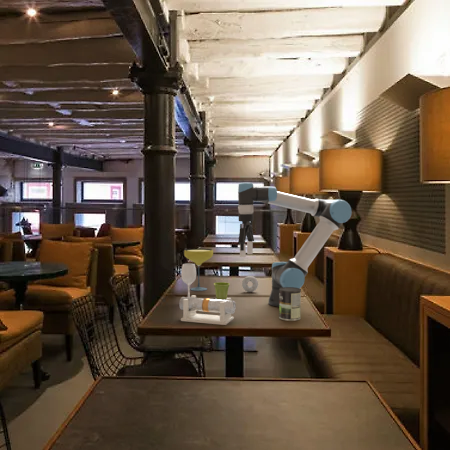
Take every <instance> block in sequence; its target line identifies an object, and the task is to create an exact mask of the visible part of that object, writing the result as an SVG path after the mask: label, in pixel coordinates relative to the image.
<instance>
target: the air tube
mask: <svg viewBox="0 0 450 450" xmlns="http://www.w3.org/2000/svg"><path fill="white" fill-rule="evenodd" d="M184 299H189V310H193V311H196V312H203V313H205V312H206V313H219V314H220V302H225V313H230V314H231V315H233V314H235V312H236V309H237V307H236V301H235V300H233V299H231V300H226V299H223V300H222V299H216V298H215V299H214V298H202V297H196V298H191V296H190V297H188V296H186V297H185V296H182V297H180V299H179V303H178V305H179V309H180V310H182V311H183V300H184Z"/></svg>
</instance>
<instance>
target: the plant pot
mask: <svg viewBox="0 0 450 450" xmlns="http://www.w3.org/2000/svg"><path fill="white" fill-rule="evenodd" d="M213 285H214V289H215V299H219V300H226V298H228V293H229V287H230V285H231V284H230V283H229V282H224V281H223V282H221V281H220V282H219V281H218V282H214V283H213Z"/></svg>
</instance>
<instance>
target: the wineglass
mask: <svg viewBox="0 0 450 450" xmlns="http://www.w3.org/2000/svg"><path fill="white" fill-rule="evenodd" d="M180 272H181V279H182V282H183V283H184V284H186V285H187V297H191V294H190V292H191V290H190V289H191V288H190V287H191V285H192V284H193V283H194V282H195V281H196V280H197V279H196V278H197V268H196V263H183V264H182V266H181V271H180Z"/></svg>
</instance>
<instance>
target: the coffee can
mask: <svg viewBox="0 0 450 450" xmlns="http://www.w3.org/2000/svg"><path fill="white" fill-rule="evenodd" d="M301 291H302V289H301V288H295V287H283V288H280V289H279V306H278V307H279V308H278V309H279V310H278V311H279V313H278V318H279V320H283V321H287V322H294V321H299V320H301V304H302V303H301V297H302V296H301V293H302V292H301Z"/></svg>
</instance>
